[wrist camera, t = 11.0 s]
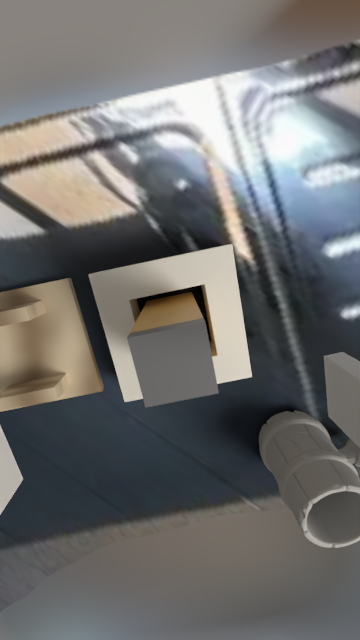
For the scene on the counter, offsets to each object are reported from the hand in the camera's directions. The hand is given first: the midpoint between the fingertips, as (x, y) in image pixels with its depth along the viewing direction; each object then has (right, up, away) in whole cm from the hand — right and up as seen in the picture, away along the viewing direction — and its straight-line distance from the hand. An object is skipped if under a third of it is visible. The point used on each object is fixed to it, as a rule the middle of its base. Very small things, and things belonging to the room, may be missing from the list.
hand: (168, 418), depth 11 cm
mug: (+15, -9, +20) cm, 27 cm away
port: (0, +4, +16) cm, 17 cm away
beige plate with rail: (-15, +1, +17) cm, 22 cm away
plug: (0, +4, +16) cm, 17 cm away
